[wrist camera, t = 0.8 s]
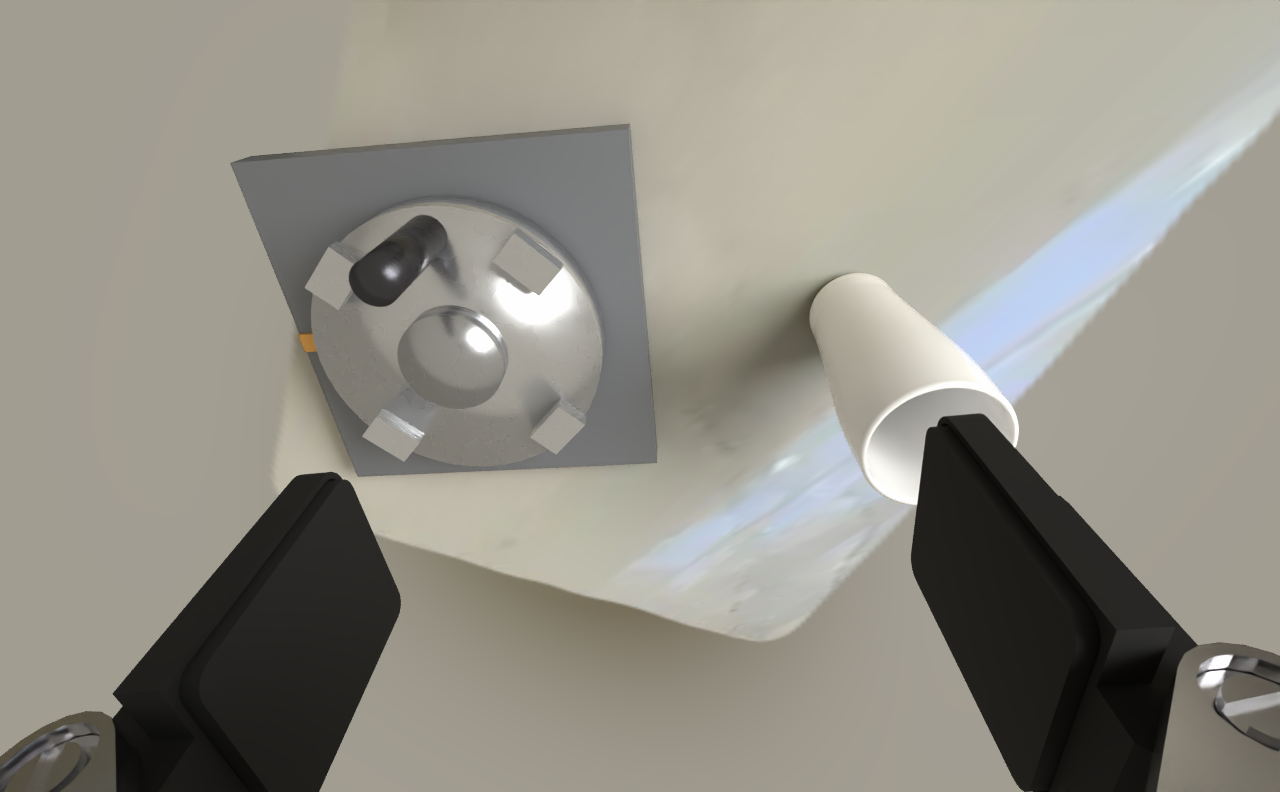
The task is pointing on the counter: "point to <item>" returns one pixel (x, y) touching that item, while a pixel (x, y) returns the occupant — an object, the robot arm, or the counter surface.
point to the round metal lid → (458, 332)
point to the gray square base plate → (514, 178)
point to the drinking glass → (895, 380)
